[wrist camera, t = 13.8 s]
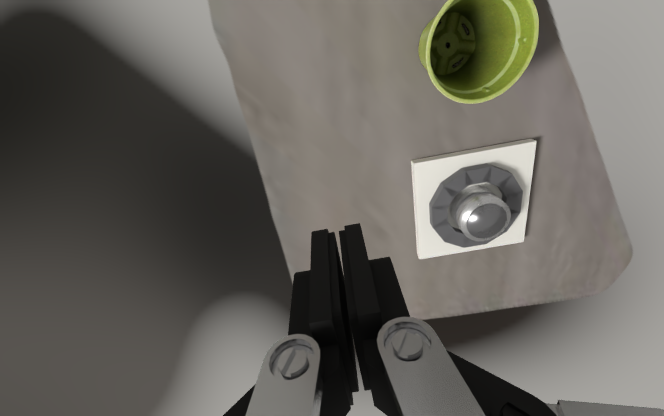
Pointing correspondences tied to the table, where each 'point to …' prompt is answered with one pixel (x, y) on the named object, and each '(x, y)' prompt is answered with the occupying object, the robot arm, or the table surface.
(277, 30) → the table surface
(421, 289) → the table surface
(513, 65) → the plant pot
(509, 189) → the mounted pipe fitting
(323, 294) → the robot arm
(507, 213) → the cap
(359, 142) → the table surface
